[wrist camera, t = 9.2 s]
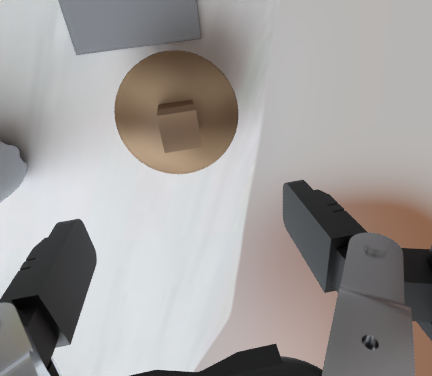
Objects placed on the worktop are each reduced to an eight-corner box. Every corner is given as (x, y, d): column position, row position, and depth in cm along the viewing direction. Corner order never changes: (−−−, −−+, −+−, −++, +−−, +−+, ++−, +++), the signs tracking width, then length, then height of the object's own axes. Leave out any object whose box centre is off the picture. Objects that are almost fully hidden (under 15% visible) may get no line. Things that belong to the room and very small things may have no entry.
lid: (99, 60, 23) (83, 65, 18) (230, 42, 23) (244, 43, 19) (134, 177, 28) (128, 203, 24) (240, 160, 29) (252, 182, 24)
